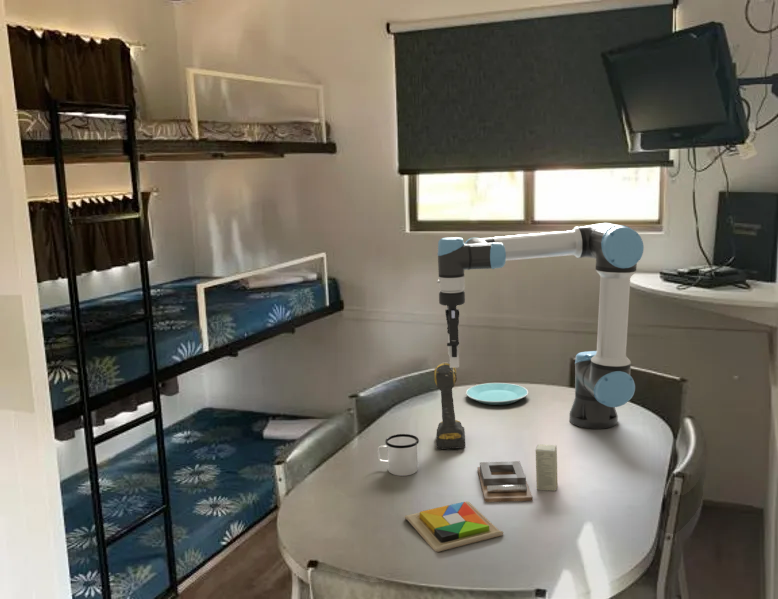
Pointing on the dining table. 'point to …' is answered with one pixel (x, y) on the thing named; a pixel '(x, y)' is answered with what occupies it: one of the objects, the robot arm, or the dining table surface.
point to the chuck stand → (503, 480)
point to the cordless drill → (448, 410)
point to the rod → (506, 488)
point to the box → (546, 467)
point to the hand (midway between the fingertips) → (453, 361)
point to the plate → (497, 393)
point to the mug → (401, 454)
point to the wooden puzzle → (452, 526)
